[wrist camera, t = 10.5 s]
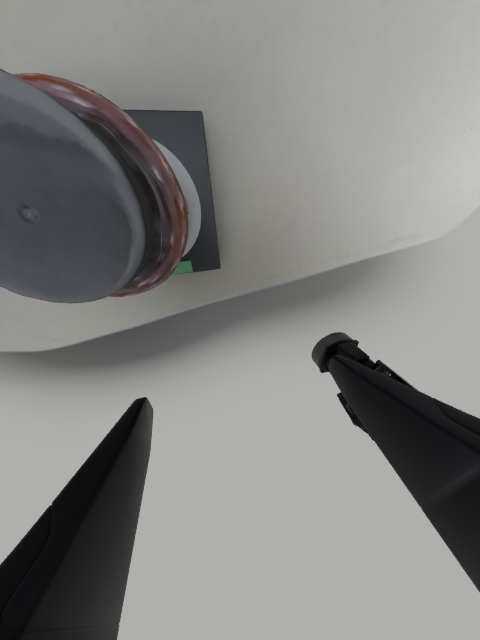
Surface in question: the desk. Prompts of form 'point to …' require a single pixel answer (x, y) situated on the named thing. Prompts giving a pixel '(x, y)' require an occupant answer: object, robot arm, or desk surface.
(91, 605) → the robot arm
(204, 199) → the scale
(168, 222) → the supplement bottle
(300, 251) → the desk surface
